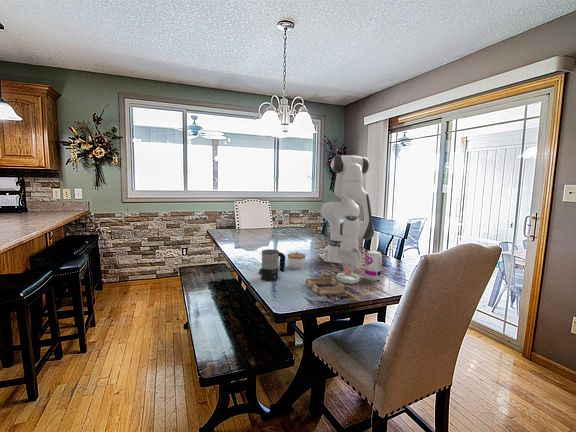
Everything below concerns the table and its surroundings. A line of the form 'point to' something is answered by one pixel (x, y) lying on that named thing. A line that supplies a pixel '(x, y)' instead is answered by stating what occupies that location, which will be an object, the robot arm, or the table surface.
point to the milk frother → (271, 264)
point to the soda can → (373, 265)
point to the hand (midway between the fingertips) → (348, 272)
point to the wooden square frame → (325, 290)
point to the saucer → (348, 278)
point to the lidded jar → (296, 260)
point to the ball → (347, 271)
